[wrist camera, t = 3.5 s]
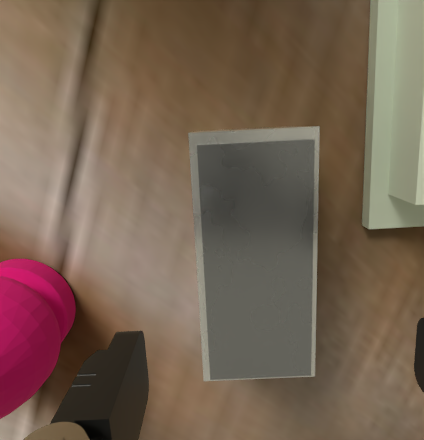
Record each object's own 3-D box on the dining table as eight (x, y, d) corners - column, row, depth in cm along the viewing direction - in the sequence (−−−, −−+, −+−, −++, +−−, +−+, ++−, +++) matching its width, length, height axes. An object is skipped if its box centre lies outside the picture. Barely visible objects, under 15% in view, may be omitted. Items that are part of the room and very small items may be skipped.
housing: (194, 131, 22) (187, 133, 15) (290, 126, 22) (323, 126, 15) (205, 321, 25) (203, 389, 18) (290, 317, 25) (318, 384, 18)
